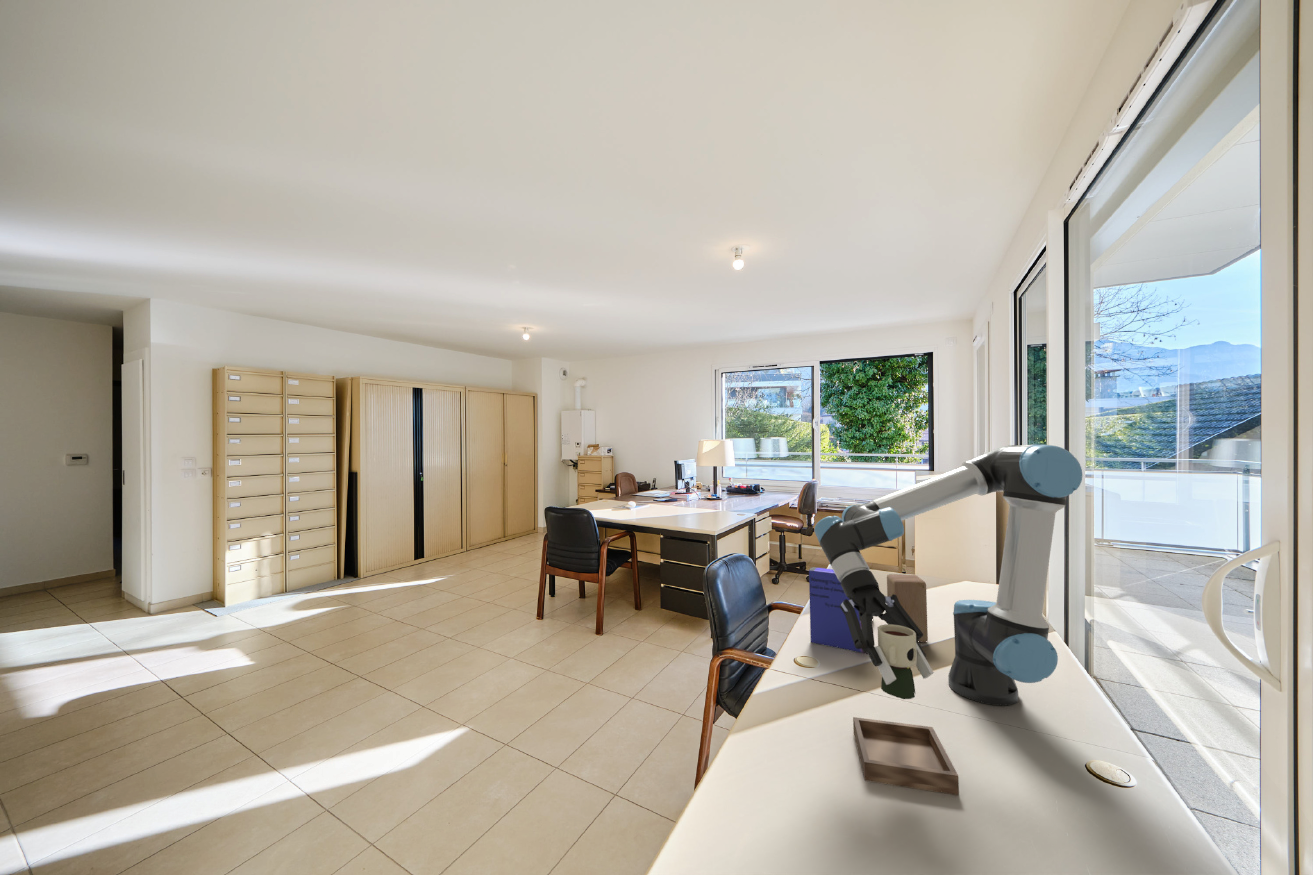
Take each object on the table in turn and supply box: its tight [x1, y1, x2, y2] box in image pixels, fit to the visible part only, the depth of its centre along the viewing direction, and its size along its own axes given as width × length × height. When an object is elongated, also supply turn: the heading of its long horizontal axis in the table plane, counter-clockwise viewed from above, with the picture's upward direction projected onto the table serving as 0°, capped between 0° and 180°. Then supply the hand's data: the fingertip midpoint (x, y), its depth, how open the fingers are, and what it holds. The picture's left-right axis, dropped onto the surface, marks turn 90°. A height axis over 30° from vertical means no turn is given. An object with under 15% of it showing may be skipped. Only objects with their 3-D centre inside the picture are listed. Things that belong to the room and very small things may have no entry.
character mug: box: [877, 623, 917, 700], centre depth 98 cm, size 11×7×13 cm, turn 145°
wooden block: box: [886, 573, 929, 643], centre depth 161 cm, size 10×10×20 cm
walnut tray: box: [852, 716, 960, 796], centre depth 97 cm, size 16×16×4 cm
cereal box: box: [808, 566, 868, 655], centre depth 155 cm, size 17×5×24 cm, turn 58°
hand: (910, 678), depth 94 cm, fingers closed on character mug, 8 cm apart
